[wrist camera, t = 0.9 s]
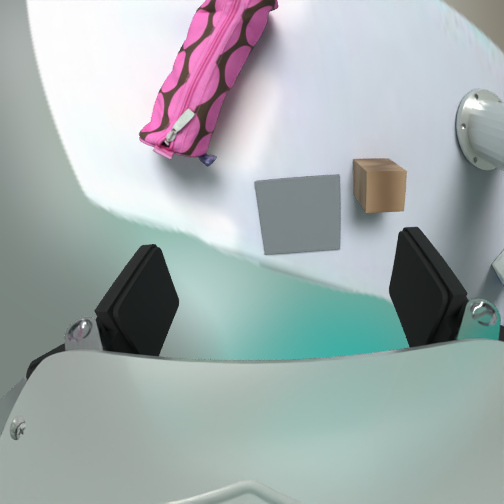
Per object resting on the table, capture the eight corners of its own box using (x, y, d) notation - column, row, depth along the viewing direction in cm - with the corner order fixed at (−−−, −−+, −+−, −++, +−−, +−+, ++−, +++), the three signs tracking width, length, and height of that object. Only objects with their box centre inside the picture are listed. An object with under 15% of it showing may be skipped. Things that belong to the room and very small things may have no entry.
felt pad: (339, 174, 33) (339, 175, 33) (339, 247, 39) (340, 248, 39) (254, 181, 35) (254, 182, 35) (265, 252, 41) (265, 254, 40)
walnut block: (388, 158, 31) (406, 171, 26) (387, 193, 34) (403, 211, 29) (353, 158, 32) (366, 171, 27) (353, 194, 35) (365, 213, 30)
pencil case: (221, 156, 34) (201, 179, 25) (155, 132, 33) (116, 148, 24) (287, 10, 23) (291, -19, 14) (213, -10, 21) (191, -40, 13)
